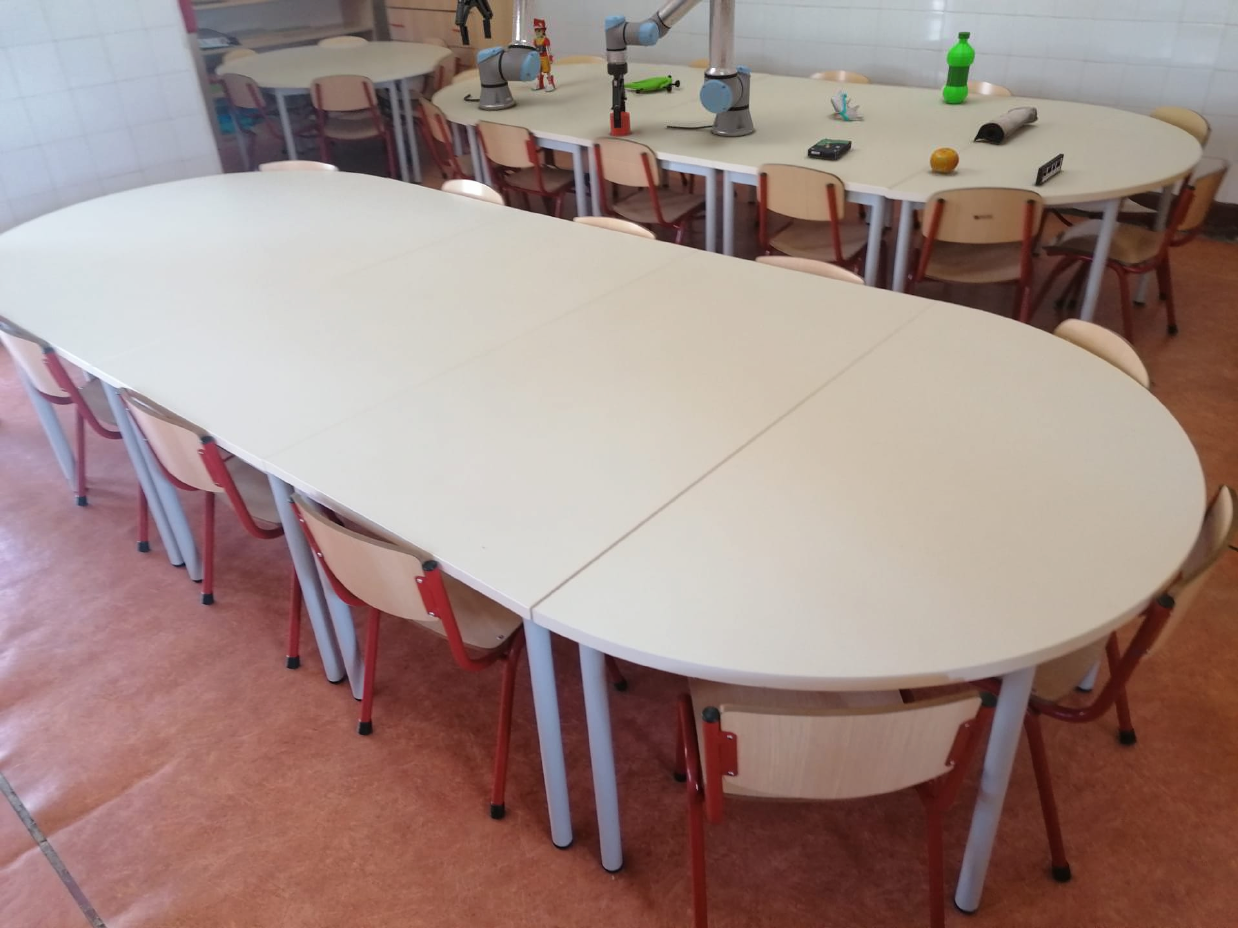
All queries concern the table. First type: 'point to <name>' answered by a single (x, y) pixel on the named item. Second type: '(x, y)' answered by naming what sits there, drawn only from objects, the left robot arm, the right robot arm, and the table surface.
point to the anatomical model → (845, 107)
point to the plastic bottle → (958, 69)
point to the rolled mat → (1006, 124)
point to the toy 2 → (653, 84)
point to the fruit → (944, 160)
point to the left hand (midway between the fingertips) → (477, 42)
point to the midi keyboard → (1049, 169)
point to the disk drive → (829, 149)
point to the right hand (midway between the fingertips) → (620, 123)
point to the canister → (624, 123)
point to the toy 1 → (543, 54)
